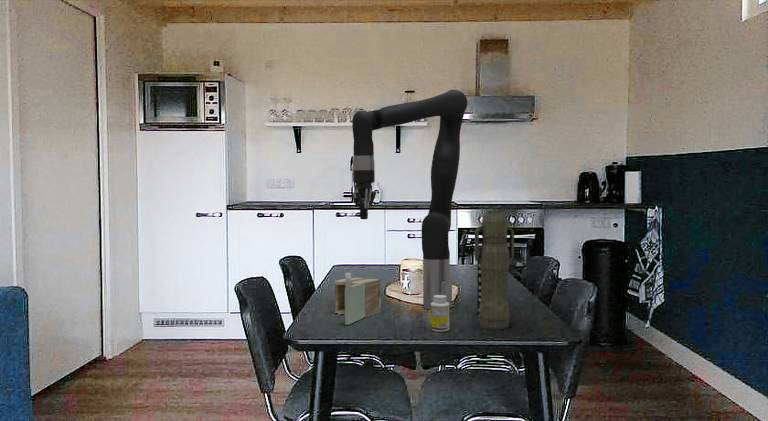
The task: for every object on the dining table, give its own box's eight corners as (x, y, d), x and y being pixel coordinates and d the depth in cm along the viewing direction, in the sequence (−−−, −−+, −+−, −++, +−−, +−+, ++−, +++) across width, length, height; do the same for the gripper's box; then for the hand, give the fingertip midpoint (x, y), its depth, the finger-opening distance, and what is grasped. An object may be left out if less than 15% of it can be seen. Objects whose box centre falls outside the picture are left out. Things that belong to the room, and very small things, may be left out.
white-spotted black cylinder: (487, 319, 211) (487, 256, 210) (472, 314, 218) (472, 254, 217) (508, 316, 215) (508, 255, 214) (492, 311, 222) (492, 252, 221)
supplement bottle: (438, 327, 200) (437, 293, 199) (453, 329, 196) (453, 295, 196) (427, 330, 196) (426, 296, 195) (442, 333, 192) (442, 298, 192)
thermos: (518, 328, 198) (519, 211, 196) (481, 330, 195) (481, 212, 194) (506, 322, 207) (507, 210, 205) (471, 323, 204) (471, 210, 202)
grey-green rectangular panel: (361, 316, 214) (361, 268, 214) (366, 317, 214) (366, 268, 213) (343, 324, 203) (343, 273, 202) (349, 324, 202) (348, 273, 202)
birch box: (380, 312, 223) (380, 279, 222) (364, 317, 214) (364, 283, 214) (351, 308, 229) (350, 277, 228) (334, 313, 220) (334, 281, 220)
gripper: (362, 168, 221) (362, 220, 222) (382, 169, 232) (383, 218, 233) (343, 169, 225) (344, 219, 226) (364, 169, 236) (365, 217, 237)
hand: (364, 219), depth 229 cm, fingers closed
